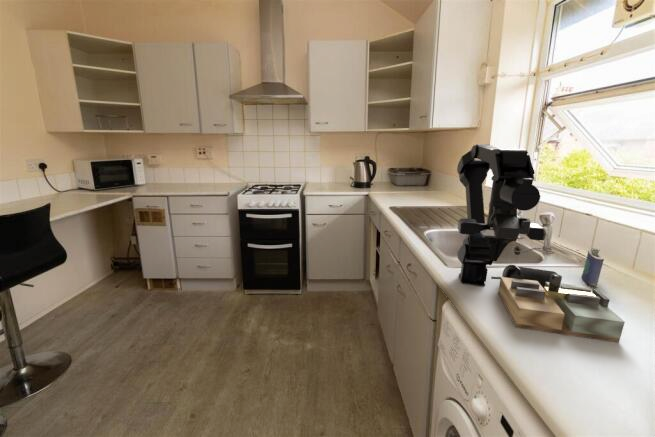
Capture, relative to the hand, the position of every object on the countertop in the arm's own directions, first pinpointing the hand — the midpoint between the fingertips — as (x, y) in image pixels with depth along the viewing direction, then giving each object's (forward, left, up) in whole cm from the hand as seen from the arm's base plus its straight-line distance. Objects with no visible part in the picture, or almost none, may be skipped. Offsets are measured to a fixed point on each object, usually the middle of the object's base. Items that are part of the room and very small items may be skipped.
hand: (494, 260), depth 81 cm
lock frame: (+14, -2, -12) cm, 19 cm away
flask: (+33, +23, -12) cm, 42 cm away
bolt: (+17, -2, -7) cm, 18 cm away
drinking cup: (+20, +15, -10) cm, 27 cm away
